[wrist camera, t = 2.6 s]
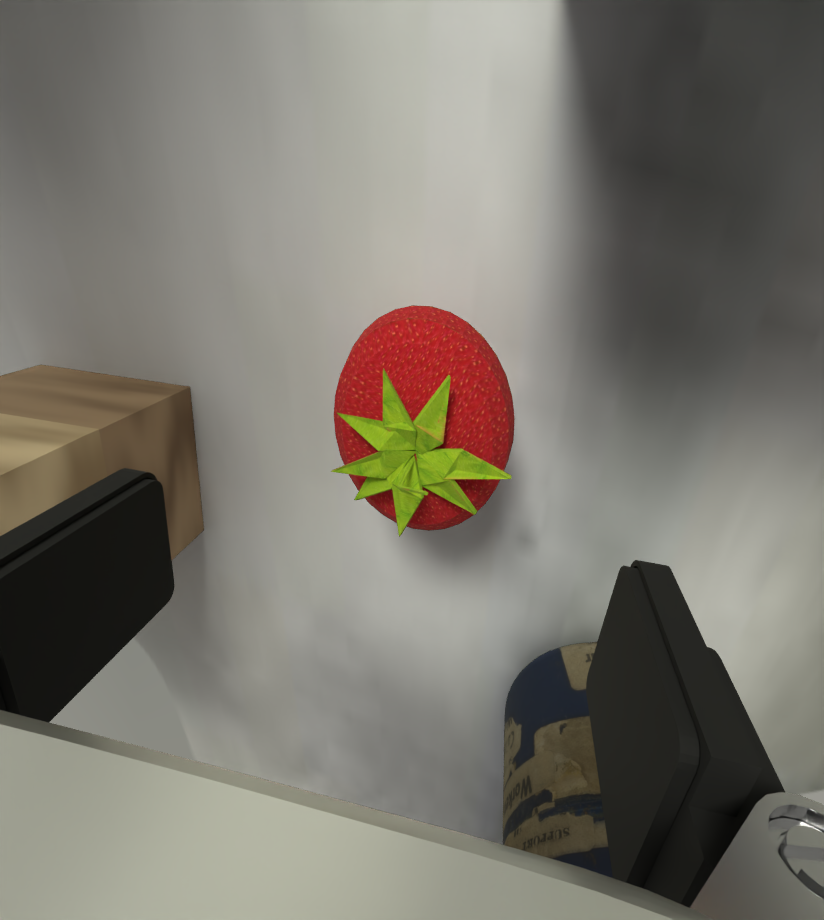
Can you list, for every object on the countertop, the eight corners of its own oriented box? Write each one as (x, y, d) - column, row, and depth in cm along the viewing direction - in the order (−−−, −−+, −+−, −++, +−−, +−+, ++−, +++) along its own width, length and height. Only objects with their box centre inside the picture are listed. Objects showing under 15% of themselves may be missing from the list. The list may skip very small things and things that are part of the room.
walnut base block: (42, 364, 25) (-86, 399, 20) (191, 386, 24) (98, 430, 19) (72, 504, 29) (-30, 567, 23) (204, 528, 28) (129, 600, 22)
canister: (500, 623, 26) (476, 1236, 10) (702, 629, 24) (1067, 1407, 8) (509, 752, 30) (500, 1355, 14) (685, 767, 28) (914, 1493, 12)
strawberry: (512, 281, 20) (509, 322, 11) (516, 460, 23) (516, 609, 14) (365, 294, 21) (253, 341, 12) (387, 463, 24) (310, 601, 15)
